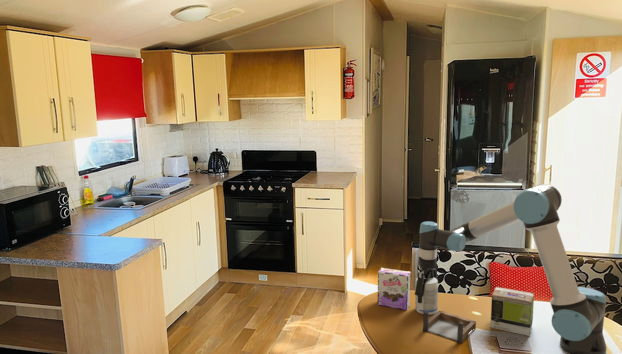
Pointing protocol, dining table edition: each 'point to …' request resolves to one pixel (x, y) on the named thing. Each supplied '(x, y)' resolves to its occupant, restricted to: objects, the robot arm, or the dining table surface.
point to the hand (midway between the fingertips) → (426, 304)
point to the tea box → (512, 310)
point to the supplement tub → (429, 297)
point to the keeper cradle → (448, 326)
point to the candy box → (394, 288)
